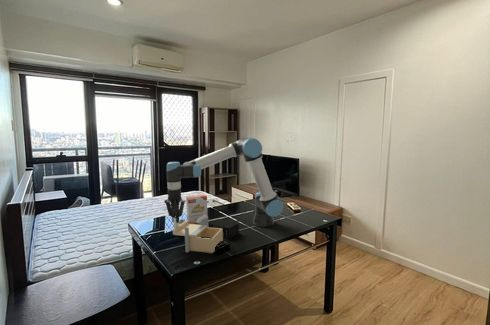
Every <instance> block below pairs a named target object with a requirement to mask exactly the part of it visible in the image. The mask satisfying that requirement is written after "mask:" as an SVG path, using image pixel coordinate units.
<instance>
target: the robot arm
mask: <svg viewBox="0 0 490 325" xmlns="http://www.w3.org/2000/svg"><path fill="white" fill-rule="evenodd" d="M262 151H263V145H262V143H261V142H260V140H258V138H255V137H242V138H240V139H238V140H235V141H234V142H232V143H230V144H229V145H228V146H226V147H223V148H220V149H218V150H216V151H213V152H211V153H208V154H205V155H202V156H201V157H197V158H195V159H192V160H190V161H185V162H184V163H183V164H181V163H180V161H169V162H167V163H166V184H167V186H166V188H167V198H166V199H164V200H163V201H164V203H165V206H166V209H167V212H168V216H169V217H171V222H172V223H173V229H174V228H176V227H177V226H178V222H179V221H180V217H182V216H183V214H184V213H183V212H184V208H185V203H186V199H185V200H184V199H182V198H183V197H182V189H181V188H182V184H181V179H188V178H189V179H190V178H200V177H201V176H202V170H203V169H206V168H209V167H210V166H214V165H216V164H219V163H221V162H223V161H225V160H228V159H230V158H233V157H234V158H237V157H240V156H243V159H244V161H245V163H248V165H249V168H250V170H251V173H252V175H253V178H254V181H255V184H256V187H257V189H258V192H256V193H255V196H254V203H255V204H254V206H255V212H254V216H253V219H252V224H253V225H254V226H255V227H258V228H259V227H260V228H268V227H271V226H274V224H275V219H274V217H279V215H281V213H282V212H283V210H284V205H283V202H282V201H281V200H279V197H278V195H277V193H276V192H275V191H274V190H273V187H272V184H271V182H270V179H269V175H268V174H267V171H266V169H265V165H264V163H263V159H262V158H263V153H262Z"/></svg>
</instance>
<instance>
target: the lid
mask: <svg viewBox="0 0 490 325" xmlns="http://www.w3.org/2000/svg"><path fill="white" fill-rule="evenodd" d="M206 227H207V225H196V224H188V220H187V219H186V220H185V222H183V223H182V224H180V225H179V226H177V227H176V228H174V227H173V229H172V236H184V237H185V228H189V236H190V237H196V236H197V235H198V234H200V233H201V232H202V231H203V230H204V229H205V228H206Z"/></svg>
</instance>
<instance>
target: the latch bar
mask: <svg viewBox="0 0 490 325" xmlns="http://www.w3.org/2000/svg"><path fill="white" fill-rule="evenodd" d="M207 216H208V213H207V214H204V215H203V216H202V217H200V218H199V219H197V220H196V223H200V222H201V221H202V220H203V219H205V218H206V217H207Z"/></svg>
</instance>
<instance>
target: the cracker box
mask: <svg viewBox="0 0 490 325" xmlns="http://www.w3.org/2000/svg"><path fill="white" fill-rule="evenodd" d="M185 201H186V202H185V203H186V206H185V207H186V208H185V209H186V220H188V224H196V225H200V223H196V220H197V219H199V218H200V217H202V216H203V215H204V214H207V215H208V195H207V194H197V195H196V194H195V195H189V196H186V197H185Z"/></svg>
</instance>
